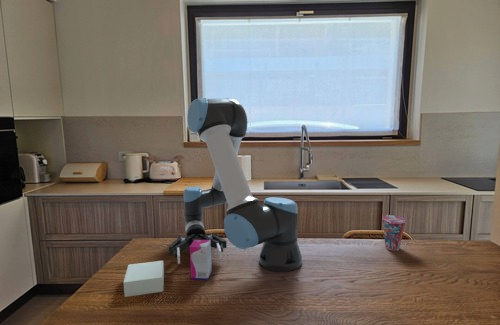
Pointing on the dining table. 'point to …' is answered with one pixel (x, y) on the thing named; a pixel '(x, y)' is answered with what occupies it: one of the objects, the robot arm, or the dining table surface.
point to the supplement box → (200, 259)
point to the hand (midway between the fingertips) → (199, 257)
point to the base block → (144, 278)
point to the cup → (393, 231)
